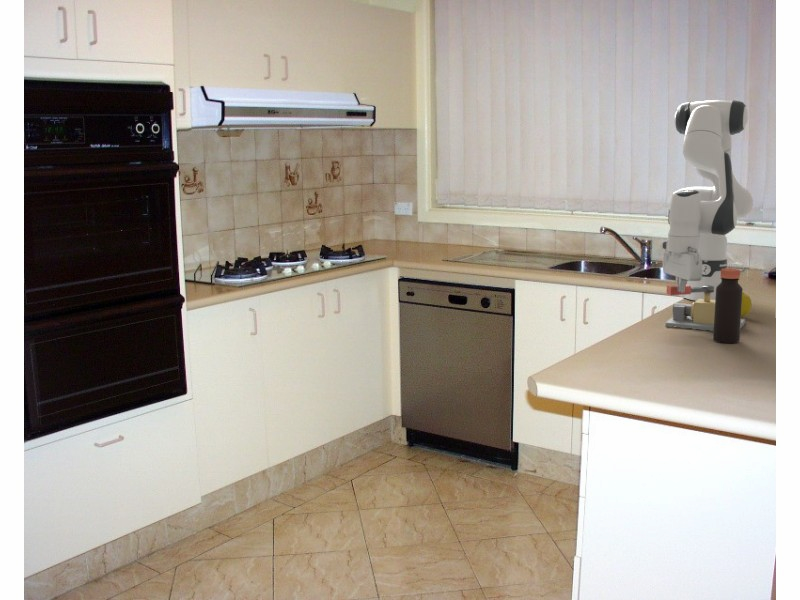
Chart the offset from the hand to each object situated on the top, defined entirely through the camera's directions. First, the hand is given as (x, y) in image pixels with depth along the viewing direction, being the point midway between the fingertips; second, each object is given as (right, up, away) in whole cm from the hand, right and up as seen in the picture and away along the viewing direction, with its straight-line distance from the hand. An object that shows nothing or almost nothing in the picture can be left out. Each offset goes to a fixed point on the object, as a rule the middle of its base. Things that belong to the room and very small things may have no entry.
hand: (680, 292), depth 246 cm
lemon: (+24, -8, +15) cm, 30 cm away
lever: (+4, 0, +3) cm, 5 cm away
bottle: (+8, -14, -15) cm, 22 cm away
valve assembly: (+10, -10, +6) cm, 15 cm away
